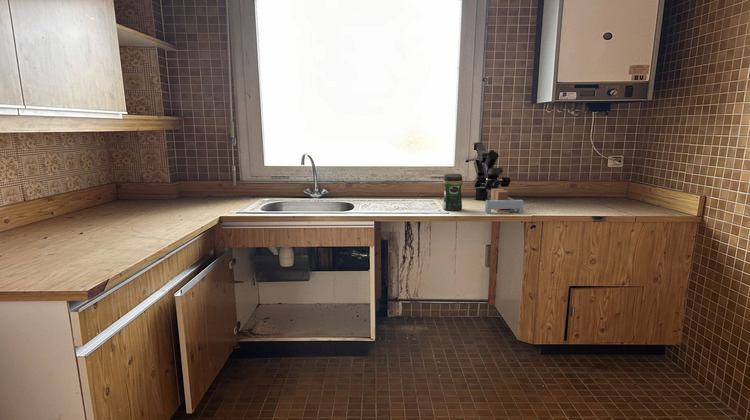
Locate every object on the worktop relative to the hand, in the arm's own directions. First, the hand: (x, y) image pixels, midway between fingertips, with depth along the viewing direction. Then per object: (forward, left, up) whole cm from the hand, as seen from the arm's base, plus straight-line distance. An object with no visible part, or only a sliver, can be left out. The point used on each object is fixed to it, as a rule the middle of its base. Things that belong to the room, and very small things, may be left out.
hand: (495, 194), depth 230 cm
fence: (+5, -9, -7) cm, 12 cm away
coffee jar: (-18, -16, -7) cm, 25 cm away
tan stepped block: (+4, -7, -7) cm, 11 cm away
